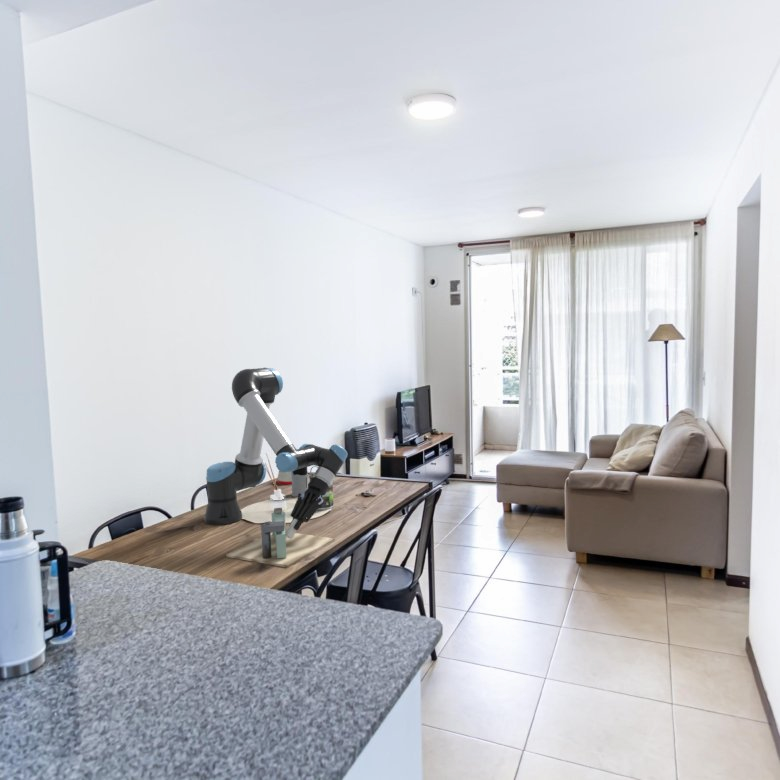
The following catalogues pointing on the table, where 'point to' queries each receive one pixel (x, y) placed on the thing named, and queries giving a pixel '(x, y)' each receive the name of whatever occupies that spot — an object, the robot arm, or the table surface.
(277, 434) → the robot arm
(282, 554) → the link
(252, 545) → the pintle board
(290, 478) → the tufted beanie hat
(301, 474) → the grey and black mug
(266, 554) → the keeper
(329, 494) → the coffee can
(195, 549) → the table surface
